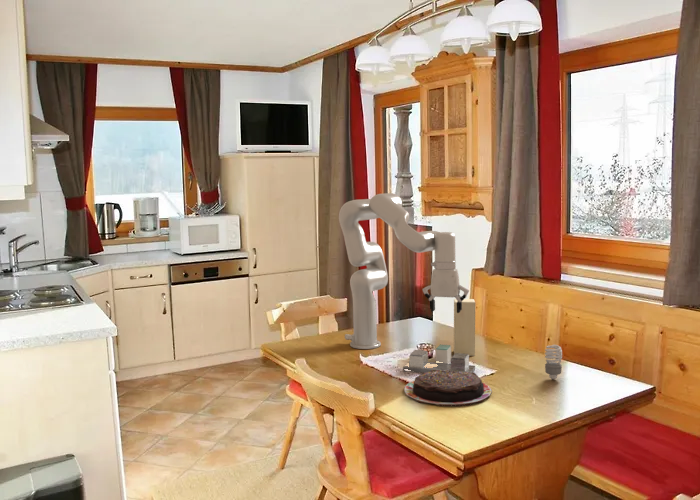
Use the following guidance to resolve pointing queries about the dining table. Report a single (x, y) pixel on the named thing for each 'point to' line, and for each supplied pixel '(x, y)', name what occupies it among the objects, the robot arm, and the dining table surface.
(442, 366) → the rail
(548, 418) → the dining table surface
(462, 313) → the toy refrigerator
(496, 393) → the dining table surface
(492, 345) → the dining table surface
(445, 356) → the block
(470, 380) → the chocolate cake
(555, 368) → the light bulb
